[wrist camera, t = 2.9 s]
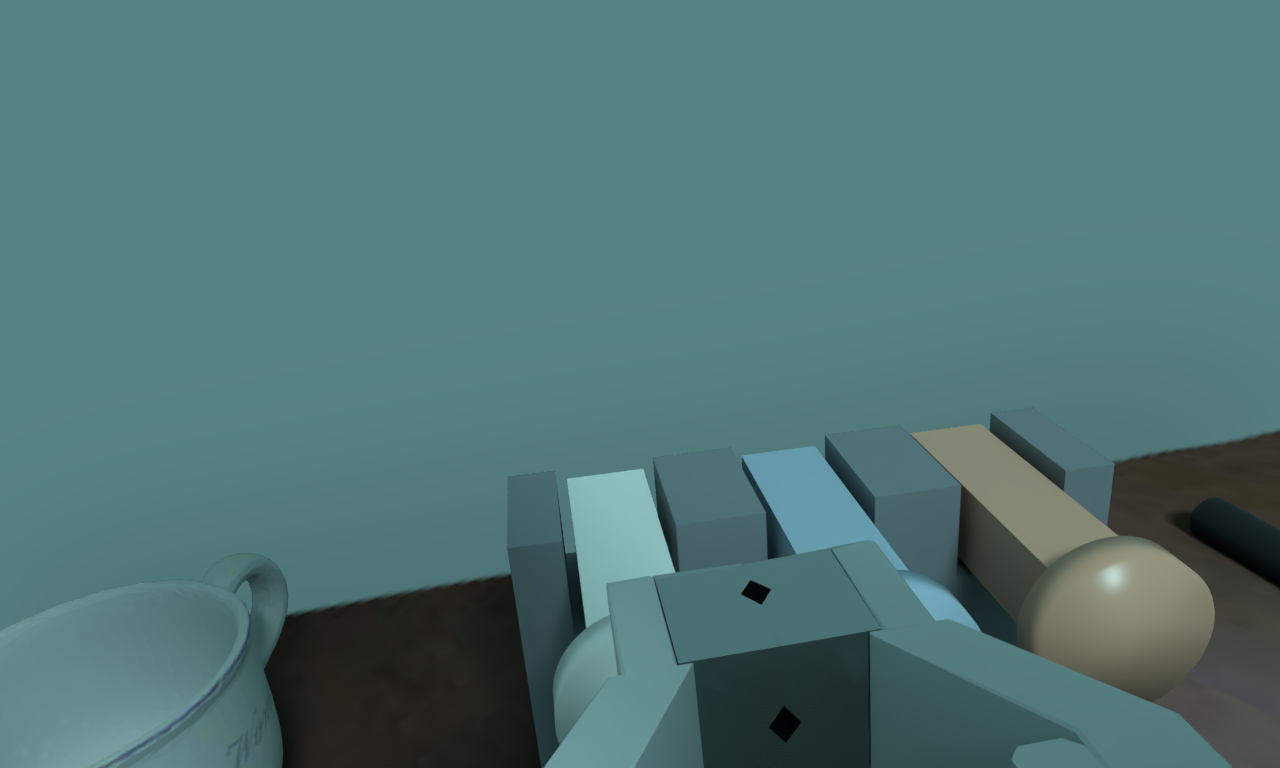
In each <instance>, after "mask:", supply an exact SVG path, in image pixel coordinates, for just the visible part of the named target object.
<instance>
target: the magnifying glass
mask: <svg viewBox="0 0 1280 768" xmlns="http://www.w3.org/2000/svg"><path fill="white" fill-rule="evenodd" d="M1190 529H1191V531H1192V532H1193V533H1194V534H1195V535H1196V536H1198V537H1200V538H1201V539H1203V540H1205V541H1206V542H1208V543H1210V544H1211V545H1213V546H1215V547H1216V548H1218V549H1220V550H1221V551H1223V552H1225V553H1226V554H1228V555H1230V556H1231V557H1233V558H1235V559H1236V560H1238V561H1240V562H1241V563H1243V564H1245V565H1246V566H1248V567H1250V568H1251V569H1253V570H1255V571H1256V572H1258V573H1260V574H1261V575H1263V576H1264V577H1266V578H1268V579H1269V580H1271V581H1273V582H1274V583H1276V584H1278V585H1279V586H1280V530H1278V529H1277V528H1275V527H1273V526H1271V525H1269V524H1267V523H1266V522H1264V521H1262V520H1260V519H1258V518H1257V517H1255V516H1253V515H1251V514H1249V513H1247V512H1246V511H1244V510H1242V509H1240V508H1238V507H1236V506H1235V505H1233V504H1231V503H1229V502H1227V501H1225V500H1223V499H1221V498H1218V497H1214V498H1209V499H1206V500H1205V501H1203V502H1201V503H1200V504H1199V505H1198V506H1197V507H1196V508H1195V510H1194V511H1193V513H1192V515H1191V518H1190Z"/></svg>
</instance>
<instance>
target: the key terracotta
mask: <svg viewBox="0 0 1280 768" xmlns="http://www.w3.org/2000/svg"><path fill="white" fill-rule="evenodd" d="M910 436H911V437H912V438H914V439H915V440H916V441H917V442H918V443H919V444H920V445H921V446H922V447H923V448H924V449H925V450H926V451H927V452H928V453H929V454H930V455H931V456H932V457H933V458H934V459H935V460H936V461H937V462H938V463H939V464H940V465H941V466H942V467H943V468H944V469H945V470H946V471H947V472H948V473H949V474H950V475H951V476H952V477H953V478H954V479H955V480H956V481H957V482H958V483H959V484H960V485H961V499H960V517H959V536H958V555H957V556H958V557H959V558H960V559H961V560H962V562H963V563H964V564H965V565H966V566H967V567H968V568H969V570H970V571H971V572H972V573H973V574H974V575H975V577H976V578H977V579H978V580H979V581H980V582H981V583H982V585H983V586H984V587H985V588H986V589H987V590H988V591H989V593H990V594H991V595H992V596H993V597H994V598H995V599H996V601H997V602H998V603H999V604H1000V605H1001V606H1002V607H1003V609H1004V610H1005V611H1006V612H1007V613H1008V614H1009V616H1010V617H1011V618H1012V619H1013V620H1014V621H1015V622H1016V624H1017V641H1018V647H1019V648H1021V649H1023V650H1025V651H1028V652H1030V653H1033V654H1035V655H1038V656H1040V657H1042V658H1045V659H1047V660H1050V661H1052V662H1055V663H1057V664H1059V665H1062V666H1064V667H1067V668H1069V669H1071V670H1074V671H1076V672H1079V673H1081V674H1084V675H1086V676H1088V677H1091V678H1093V679H1096V680H1098V681H1100V682H1103V683H1105V684H1108V685H1110V686H1113V687H1115V688H1117V689H1120V690H1122V691H1125V692H1127V693H1130V694H1132V695H1134V696H1137V697H1139V698H1142V699H1144V700H1146V701H1149V702H1152V701H1154V700H1156V699H1158V698H1160V697H1161V696H1163V695H1164V694H1166V693H1167V692H1169V691H1170V690H1171V689H1173V688H1174V687H1175V686H1176V685H1177V684H1179V683H1180V682H1181V681H1182V680H1183V679H1184V678H1185V677H1186V676H1187V675H1188V674H1189V673H1190V671H1191V670H1192V669H1193V668H1194V667H1195V665H1196V664H1197V662H1198V661H1199V660H1200V658H1201V657H1202V655H1203V653H1204V651H1205V649H1206V647H1207V645H1208V643H1209V640H1210V637H1211V634H1212V630H1213V626H1214V617H1215V614H1214V603H1213V598H1212V595H1211V593H1210V590H1209V588H1208V587H1207V585H1206V584H1205V582H1204V581H1203V580H1202V578H1201V577H1200V576H1199V575H1198V574H1197V573H1195V572H1194V571H1193V570H1191V569H1190V568H1189V567H1188V566H1186V565H1185V564H1184V563H1182V562H1181V561H1180V560H1178V559H1177V558H1176V557H1175V556H1173V555H1172V554H1171V553H1169V552H1168V551H1167V550H1165V549H1164V548H1163V547H1162V546H1160V545H1158V544H1156V543H1154V542H1153V541H1150V540H1147V539H1144V538H1140V537H1134V536H1118V535H1117V534H1115V533H1114V532H1113V531H1112V530H1111V529H1109V528H1108V527H1107V526H1106V525H1104V524H1103V523H1102V522H1101V521H1099V520H1098V519H1097V518H1096V517H1094V516H1093V515H1092V514H1091V513H1090V512H1088V511H1087V510H1086V509H1085V508H1083V507H1082V506H1081V505H1080V504H1078V503H1077V502H1076V501H1075V500H1074V499H1072V498H1071V497H1070V496H1069V495H1067V494H1066V493H1065V492H1064V491H1062V490H1061V489H1060V488H1059V487H1057V486H1056V485H1055V484H1054V483H1053V482H1051V481H1050V480H1049V479H1048V478H1046V477H1045V476H1044V475H1043V474H1041V473H1040V472H1039V471H1038V470H1036V469H1035V468H1034V467H1033V466H1032V465H1030V464H1029V463H1028V462H1027V461H1025V460H1024V459H1023V458H1022V457H1020V456H1019V455H1018V454H1017V453H1015V452H1014V451H1013V450H1012V449H1011V448H1009V447H1008V446H1007V445H1006V444H1004V443H1003V442H1002V441H1001V440H999V439H998V438H997V437H996V436H995V435H993V434H992V433H991V432H990V431H988V430H987V429H986V428H985V427H983V426H982V425H981V424H977V425H969V426H962V427H954V428H947V429H939V430H932V431H924V432H916V433H910Z"/></svg>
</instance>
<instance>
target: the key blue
mask: <svg viewBox="0 0 1280 768" xmlns="http://www.w3.org/2000/svg"><path fill="white" fill-rule="evenodd" d="M742 469H743V471H744V473H745V475H746V477H747V479H748V480H749V482H750V484H751V486H752V488H753V490H754V491H755V493H756V495H757V497H758V499H759V501H760V502H761V504H762V506H763V508H764V510H765V512H766V527H767V557H768V560H769V559H774V558H779V557H785V556H790V555H795V554H801V553H806V552H811V551H816V550H822V549H826V548H830V547H835V546H840V545H845V544H850V543H855V542H860V541H865V540H871V541H873V542H875V543H877V545H878V546H879V547H880V549H881V550H882V551H883V553H884V554H885V555H886V557H887V558H888V559H889V561H890V562H891V563H892V564H893V566H894V567H895V568H896V570H897V571H898V572H899V574H900V575H901V576H902V578H903V579H904V580H905V582H906V583H907V584H908V585H909V587H910V588H911V589H912V591H913V592H914V593H915V595H916V596H917V597H918V599H919V600H920V601H921V603H922V604H923V605H924V606H925V608H926V609H927V610H928V612H929V613H930V614H931V616H932V617H933V618H934V620H935V621H938V620H944V619H950V620H953V621H955V622H958V623H960V624H963V625H965V626H967V627H970V628H972V629H975V630H977V631H980V629H979V627H978V625H977V624H976V623H975V621H974V620H973V619H972V617H971V616H970V615H969V614H968V612H967V611H966V610H965V609H964V607H963V606H962V605H961V604H960V603H959V601H958V600H957V599H956V598H955V596H954V595H953V594H952V593H951V591H950V590H949V589H947V588H946V587H945V586H944V585H943V584H942V583H940V582H938V581H937V580H935V579H933V578H931V577H929V576H927V575H924V574H921V573H918V572H914V571H909V570H908V569H907V567H906V566H905V565H904V563H903V562H902V561H901V559H900V558H899V557H898V556H897V554H896V553H895V552H894V550H893V549H892V548H891V546H890V545H889V544H888V542H887V541H886V540H885V538H884V537H883V536H882V534H881V533H880V532H879V530H878V529H877V528H876V526H875V525H874V524H873V522H872V521H871V520H870V518H869V517H868V516H867V514H866V513H865V512H864V511H863V509H862V508H861V507H860V505H859V504H858V503H857V501H856V500H855V499H854V497H853V496H852V495H851V493H850V492H849V491H848V489H847V488H846V487H845V485H844V484H843V483H842V481H841V480H840V479H839V477H838V476H837V475H836V473H835V472H834V471H833V469H832V468H831V467H830V466H829V464H828V463H827V462H826V460H825V459H824V458H823V456H822V455H821V454H820V452H819V451H818V450H817V448H816V447H815V446H811V447H803V448H796V449H788V450H781V451H774V452H766V453H759V454H751V455H744V456H742ZM980 632H981V631H980Z"/></svg>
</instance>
